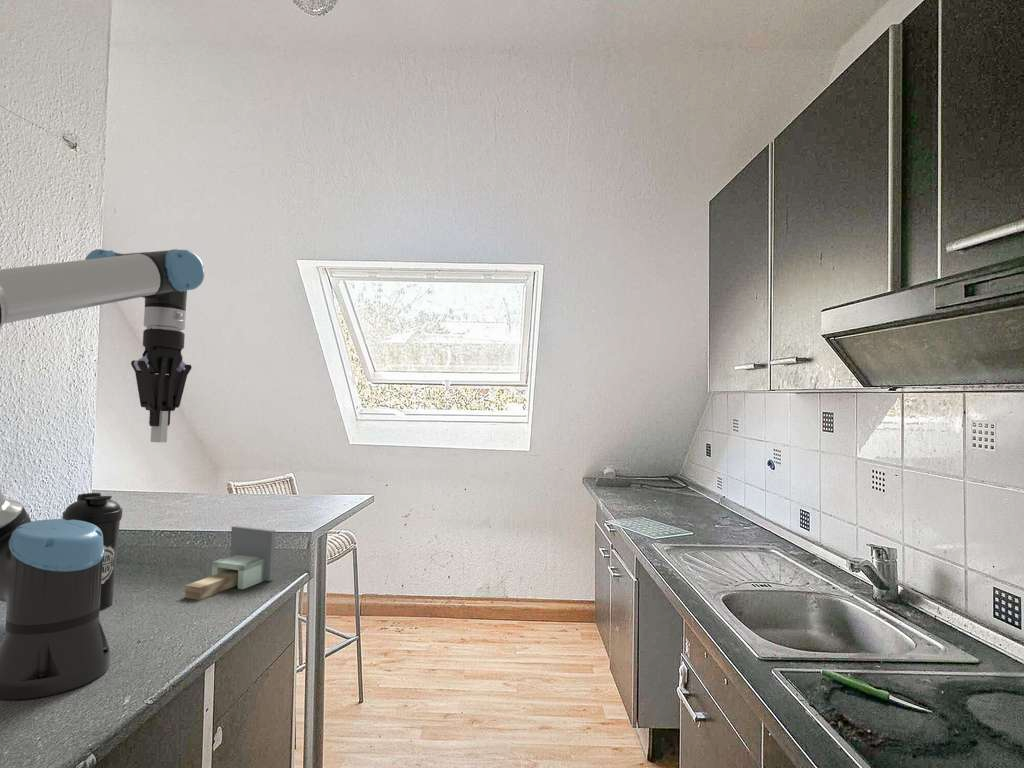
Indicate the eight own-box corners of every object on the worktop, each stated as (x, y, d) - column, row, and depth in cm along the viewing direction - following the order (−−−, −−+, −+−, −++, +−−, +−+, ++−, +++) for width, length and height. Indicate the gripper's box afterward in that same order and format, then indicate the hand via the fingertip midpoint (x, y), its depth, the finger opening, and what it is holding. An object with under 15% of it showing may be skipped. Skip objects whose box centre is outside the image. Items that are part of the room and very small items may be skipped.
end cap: (248, 590, 135) (250, 537, 136) (206, 583, 139) (208, 532, 139) (273, 580, 143) (275, 530, 144) (232, 574, 147) (235, 525, 147)
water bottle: (66, 619, 114) (73, 500, 115) (49, 606, 121) (56, 494, 121) (125, 606, 123) (131, 495, 123) (106, 595, 129) (112, 489, 130)
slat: (199, 601, 128) (200, 587, 128) (184, 599, 129) (185, 585, 129) (245, 583, 141) (246, 570, 141) (232, 581, 142) (232, 568, 142)
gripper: (151, 325, 116) (144, 444, 116) (203, 333, 129) (198, 441, 128) (122, 325, 119) (115, 442, 118) (176, 333, 131) (171, 439, 130)
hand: (158, 441), depth 123 cm, fingers closed
